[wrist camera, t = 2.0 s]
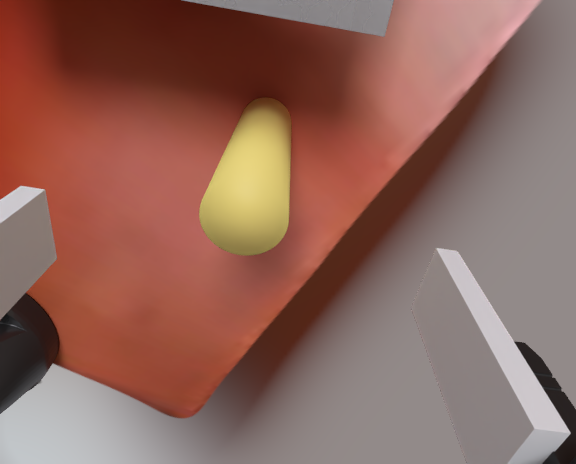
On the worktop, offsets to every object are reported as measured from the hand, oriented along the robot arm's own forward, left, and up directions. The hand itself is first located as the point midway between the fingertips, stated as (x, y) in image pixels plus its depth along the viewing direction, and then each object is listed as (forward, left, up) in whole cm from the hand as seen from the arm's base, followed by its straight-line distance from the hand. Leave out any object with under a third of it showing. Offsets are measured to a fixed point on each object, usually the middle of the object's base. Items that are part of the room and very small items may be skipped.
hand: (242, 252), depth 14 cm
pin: (0, 0, -17) cm, 17 cm away
